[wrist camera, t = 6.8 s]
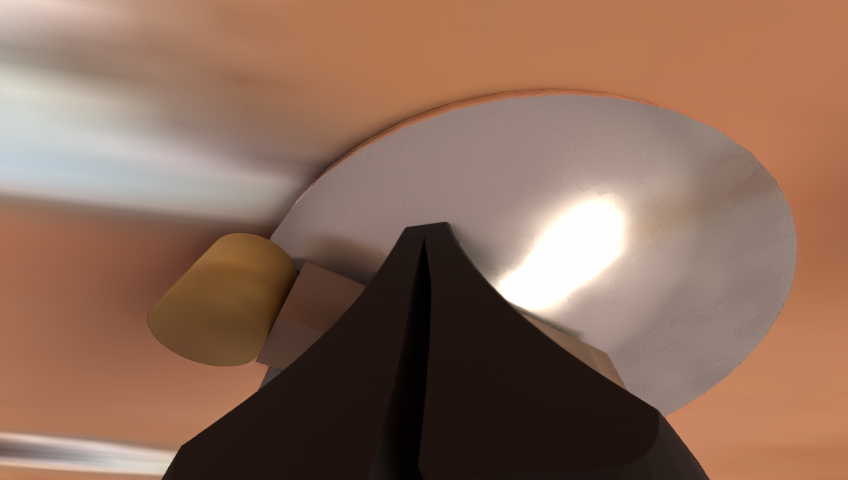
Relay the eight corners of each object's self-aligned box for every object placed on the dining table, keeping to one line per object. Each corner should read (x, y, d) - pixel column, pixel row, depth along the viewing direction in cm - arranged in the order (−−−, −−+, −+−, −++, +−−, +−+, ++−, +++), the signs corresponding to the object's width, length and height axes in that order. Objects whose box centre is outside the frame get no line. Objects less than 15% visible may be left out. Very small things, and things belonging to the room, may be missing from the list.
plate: (580, 457, 23) (587, 476, 22) (267, 418, 19) (259, 438, 18) (929, 193, 10) (979, 209, 10) (247, -27, 7) (222, -36, 6)
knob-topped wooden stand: (606, 353, 13) (668, 462, 10) (513, 413, 16) (536, 513, 13) (230, 176, 9) (109, 268, 5) (196, 305, 12) (104, 416, 8)
